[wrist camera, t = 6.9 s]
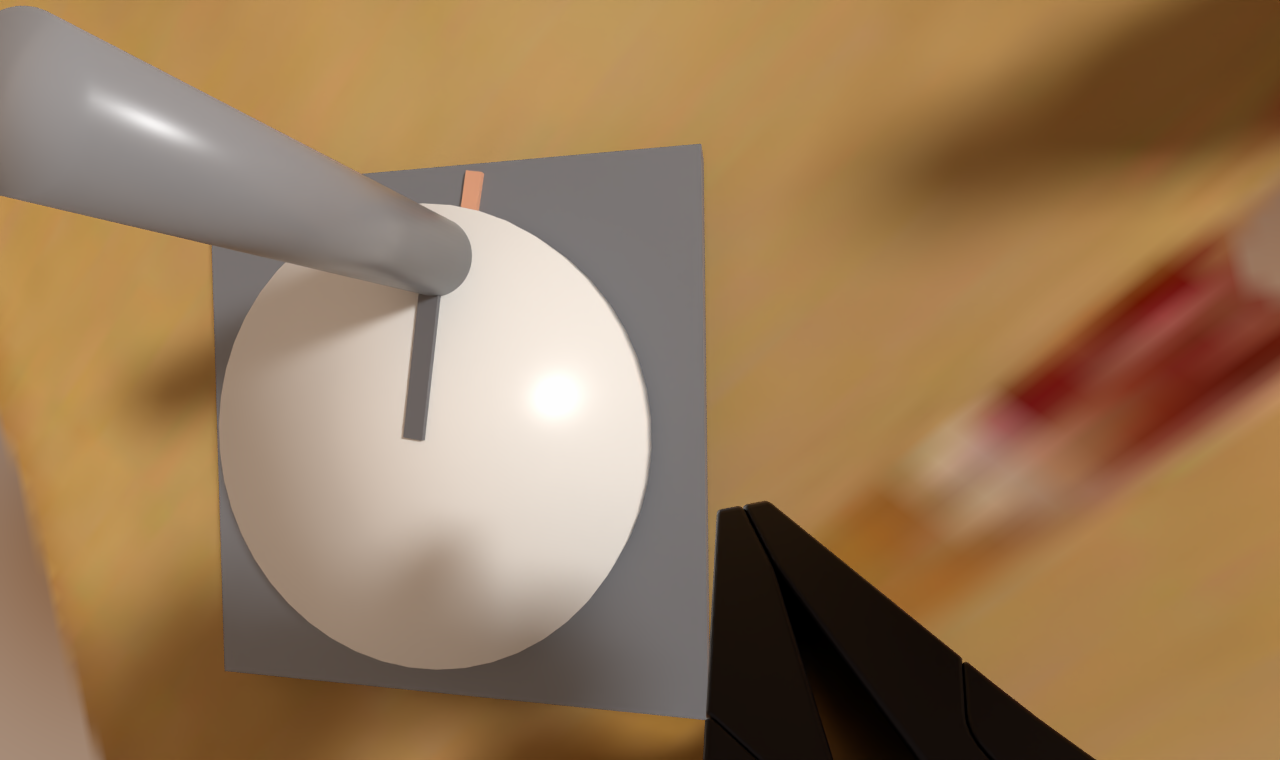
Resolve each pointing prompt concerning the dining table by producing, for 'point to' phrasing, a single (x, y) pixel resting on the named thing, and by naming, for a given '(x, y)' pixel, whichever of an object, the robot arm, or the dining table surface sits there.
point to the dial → (362, 361)
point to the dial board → (677, 485)
